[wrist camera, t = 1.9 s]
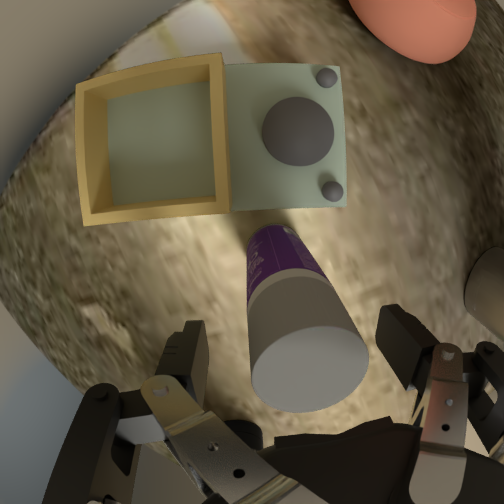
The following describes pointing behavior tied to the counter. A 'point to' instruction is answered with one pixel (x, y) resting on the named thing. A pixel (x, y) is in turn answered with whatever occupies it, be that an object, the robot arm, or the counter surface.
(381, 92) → the counter surface
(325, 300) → the container
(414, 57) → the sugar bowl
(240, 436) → the wine bottle
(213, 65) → the grey-green box with tray
